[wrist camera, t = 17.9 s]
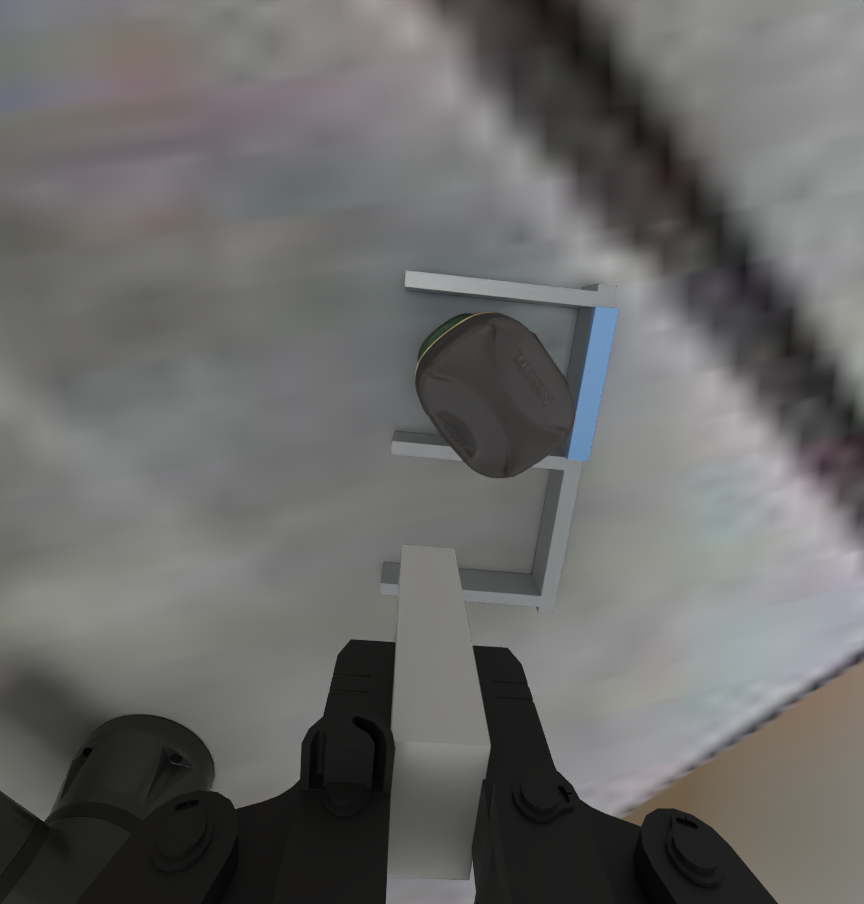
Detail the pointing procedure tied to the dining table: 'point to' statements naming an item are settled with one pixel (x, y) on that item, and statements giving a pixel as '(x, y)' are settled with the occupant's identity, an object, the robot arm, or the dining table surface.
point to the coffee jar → (494, 393)
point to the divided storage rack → (562, 462)
